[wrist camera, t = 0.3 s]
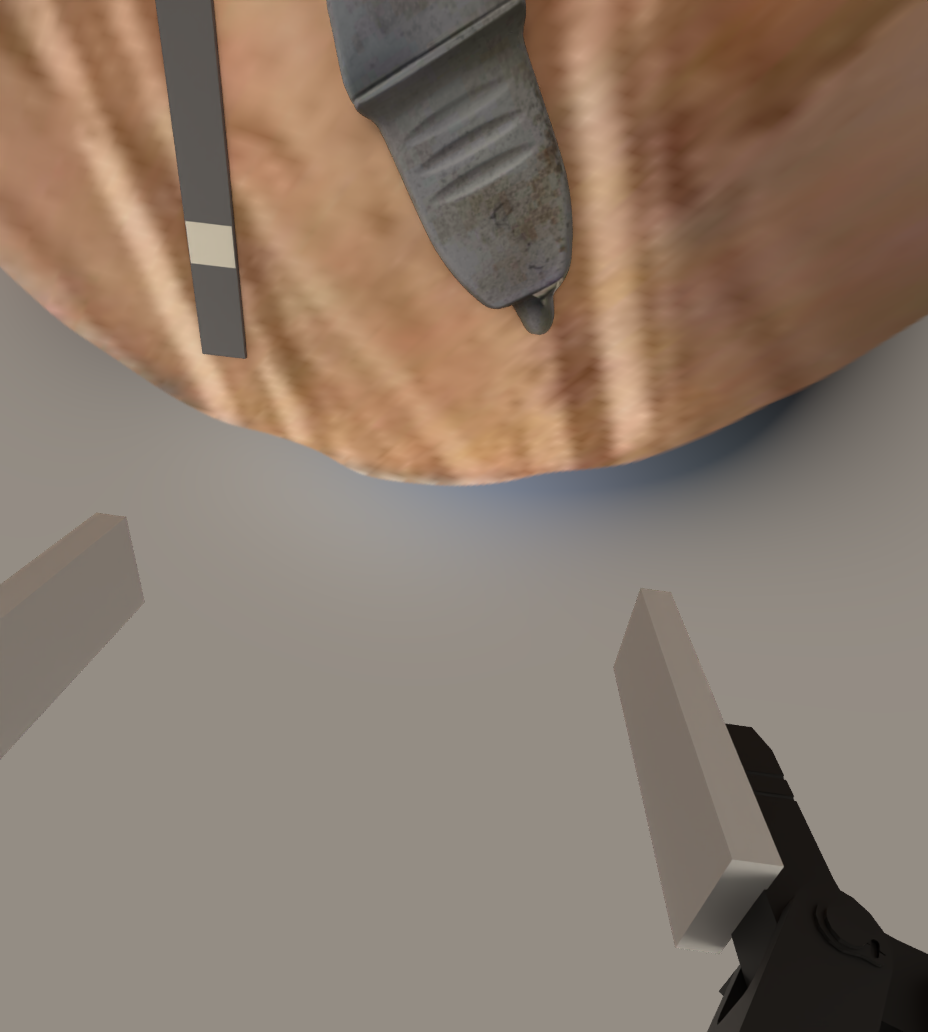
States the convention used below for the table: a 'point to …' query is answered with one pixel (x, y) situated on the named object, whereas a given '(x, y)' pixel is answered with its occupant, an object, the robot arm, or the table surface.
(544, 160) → the handheld device
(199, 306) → the strip
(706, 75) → the table surface
